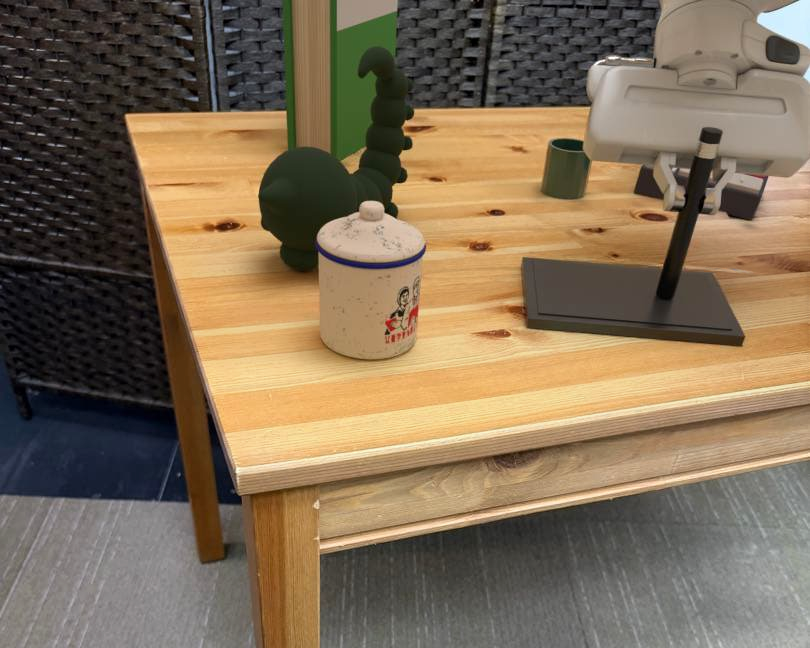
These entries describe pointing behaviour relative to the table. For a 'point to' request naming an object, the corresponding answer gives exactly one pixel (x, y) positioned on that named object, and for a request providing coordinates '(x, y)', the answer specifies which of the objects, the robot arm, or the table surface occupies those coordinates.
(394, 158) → the toy figurine
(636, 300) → the tablet
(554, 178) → the pen cup
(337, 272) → the teacup with lid
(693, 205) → the stylus
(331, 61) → the hardback book
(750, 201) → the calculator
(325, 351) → the table surface
